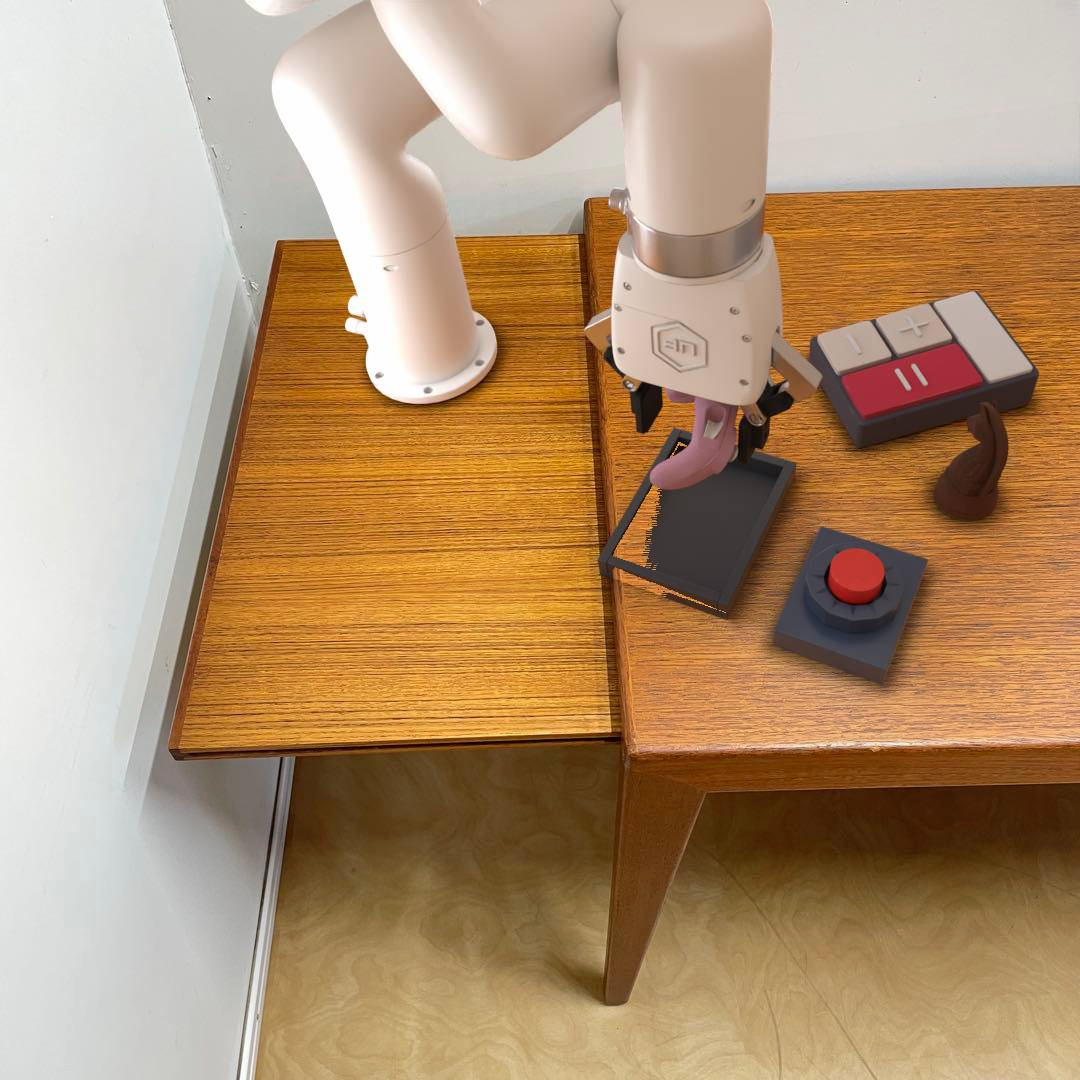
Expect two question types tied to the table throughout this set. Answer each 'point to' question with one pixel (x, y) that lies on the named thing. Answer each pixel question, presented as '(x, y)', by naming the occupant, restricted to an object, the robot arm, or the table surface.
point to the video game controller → (700, 444)
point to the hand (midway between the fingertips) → (699, 432)
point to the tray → (706, 529)
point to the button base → (849, 609)
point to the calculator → (921, 368)
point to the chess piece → (975, 469)
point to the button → (856, 576)
